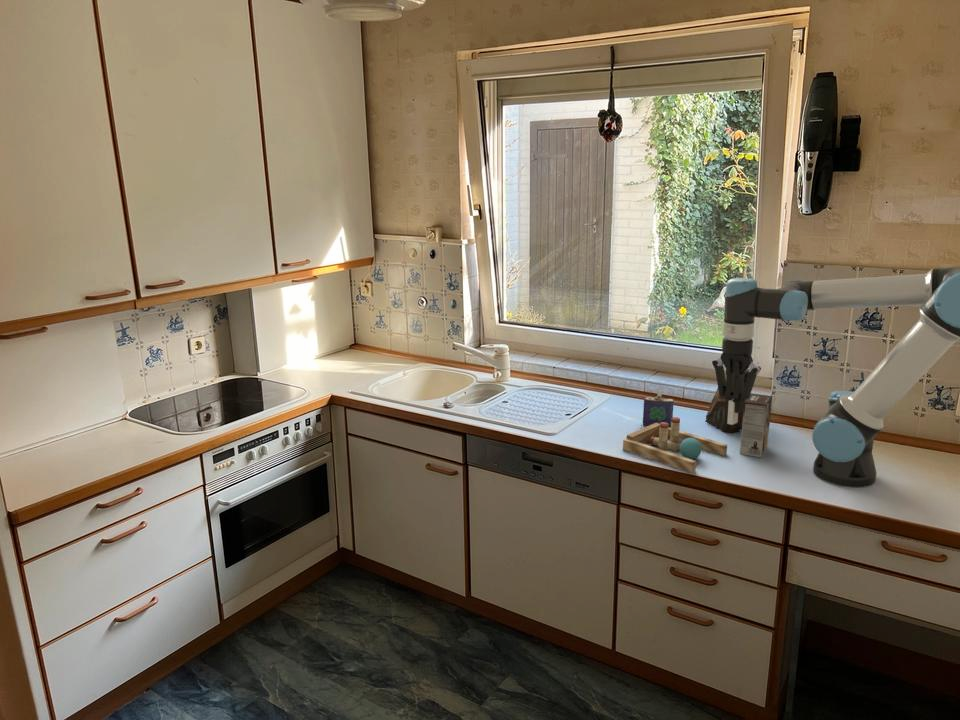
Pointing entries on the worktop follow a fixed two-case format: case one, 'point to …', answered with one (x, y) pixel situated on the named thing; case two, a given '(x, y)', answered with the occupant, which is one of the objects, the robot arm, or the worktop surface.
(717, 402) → the carved bird figurine
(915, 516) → the worktop surface
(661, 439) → the pin
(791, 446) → the worktop surface
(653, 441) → the pin front
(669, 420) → the flask
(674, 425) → the pin
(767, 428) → the coffee box
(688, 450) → the ball
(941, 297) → the robot arm
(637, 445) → the lane
